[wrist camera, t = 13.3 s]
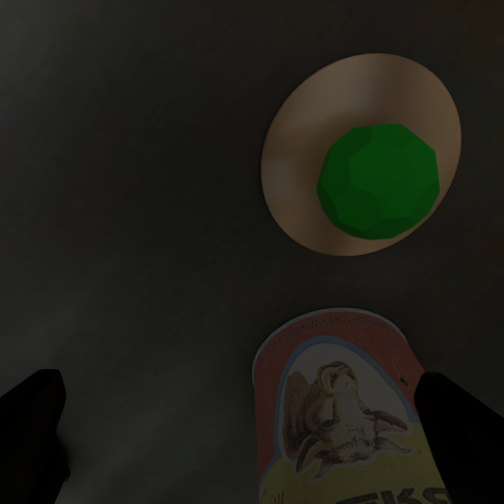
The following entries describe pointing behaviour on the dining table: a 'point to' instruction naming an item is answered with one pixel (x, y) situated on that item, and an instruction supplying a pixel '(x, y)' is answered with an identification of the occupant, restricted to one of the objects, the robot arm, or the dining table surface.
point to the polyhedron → (378, 181)
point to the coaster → (338, 124)
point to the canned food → (341, 414)
